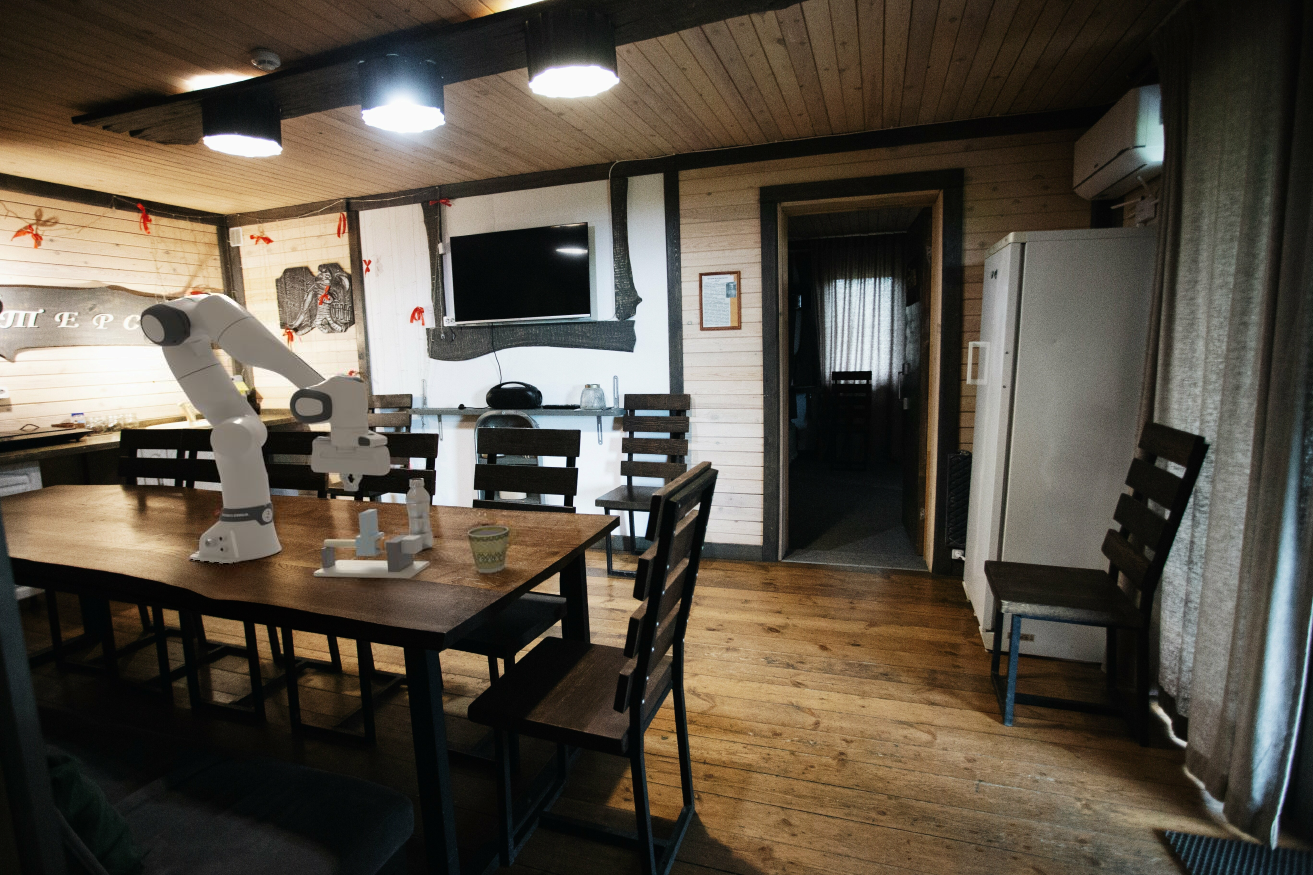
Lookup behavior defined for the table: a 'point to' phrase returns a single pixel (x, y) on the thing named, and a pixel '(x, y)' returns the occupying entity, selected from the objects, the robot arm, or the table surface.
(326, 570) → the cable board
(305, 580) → the table surface
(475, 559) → the ceramic cup
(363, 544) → the pale blue stacked blocks
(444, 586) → the table surface
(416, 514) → the plastic bottle
